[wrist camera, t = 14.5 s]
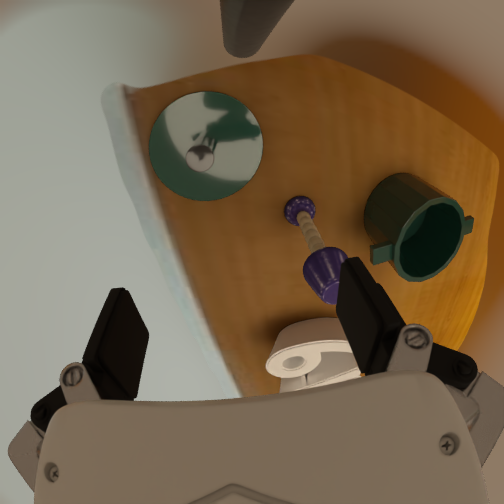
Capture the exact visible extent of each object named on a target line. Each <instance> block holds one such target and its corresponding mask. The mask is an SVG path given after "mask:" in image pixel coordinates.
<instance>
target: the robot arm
mask: <svg viewBox="0 0 504 504" xmlns="http://www.w3.org/2000/svg"><path fill="white" fill-rule="evenodd" d="M336 313H337V316H338V318H339V321H340V323H341V326H342V328H343V330H344V333H345V335H346V338H347V340H348V343H349V345H350V347H351V350H352V352H353V355H354V357H355V360H356V362H357V365H358V368H359V370H360V372H361V373H365V376H363V377H359V378H355V379H351V380H346V381H342V382H337V383H333V384H328V385H323V386H318V387H313V388H307V389H302V390H296V391H290V392H284V393H277V394H270V395H262V396H254V397H244V398H234V399H222V400H205V401H175V402H174V401H172V402H169V401H168V402H167V401H165V402H163V401H161V402H160V401H134V398H136V397H137V394H138V388H139V383H140V378H141V373H142V367H143V363H144V358H145V354H146V349H147V345H148V340H149V332H148V330H147V328H146V326H145V324H144V322H143V320H142V318H141V316H140V314H139V312H138V310H137V308H136V305H135V303H134V301H133V299H132V297H131V295H130V293H129V291H128V290H125V288H113V289H111V290H110V293H109V295H108V297H107V299H106V301H105V303H104V306H103V308H102V310H101V313H100V315H99V317H98V320H97V322H96V324H95V327H94V329H93V332H92V334H91V337H90V339H89V342H88V345H87V347H86V349H85V352H84V355H83V358H82V359H83V361H82V364H81V363H79V362H75V363H71V364H69V365H67V366H66V367H65V368H64V369H63V370H62V372H61V374H60V379H59V380H60V386H59V387H57V388H56V389H54V390H53V391H52V392H50V393H49V394H47V395H46V396H45V397H43V398H42V399H41V400H39V401H38V402H37V403H36V404H35V405H34V406H33V408H32V410H31V421H27V422H26V423H25V424H24V426H23V427H22V428H21V430H20V431H19V432H18V433H17V435H16V436H15V437H14V439H13V440H12V441H11V443H10V445H9V448H8V455H9V457H10V459H11V461H12V463H13V464H14V466H15V467H16V469H17V470H18V472H19V473H20V474H21V476H22V477H23V478H24V480H25V481H26V483H27V484H28V485H29V487H30V488H31V489H32V490H33V492H34V493H35V494H34V504H489V498H488V493H487V489H486V484H485V480H484V476H483V472H482V466H483V464H484V463H485V461H486V460H487V458H488V456H489V455H490V453H491V451H492V449H493V447H494V446H495V444H496V442H497V440H498V438H499V436H500V434H501V432H502V430H503V428H504V387H503V386H502V385H500V384H499V383H498V382H496V381H495V380H494V379H492V378H491V377H490V376H488V375H487V374H486V373H484V372H483V371H482V372H481V373H479V372H478V369H477V365H476V363H475V361H474V360H473V359H472V358H471V357H470V356H468V355H466V354H463V353H460V352H458V351H455V350H452V349H450V348H447V347H444V346H442V345H439V344H436V343H434V342H433V337H432V334H431V333H430V331H429V330H428V329H427V328H426V327H424V326H422V325H420V324H408V325H406V324H405V322H404V320H403V319H402V317H401V316H400V314H399V312H398V311H397V309H396V307H395V306H394V304H393V303H392V301H391V300H390V298H389V297H388V295H387V293H386V292H385V290H384V289H383V287H382V286H381V285H380V284H379V283H376V282H375V280H374V279H373V277H372V276H371V274H370V273H369V271H368V270H367V268H366V267H365V265H364V264H363V262H362V261H361V260H360V258H359V257H352V258H346V259H345V261H344V262H342V263H341V268H340V278H339V287H338V296H337V304H336Z"/></svg>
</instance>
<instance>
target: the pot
mask: <svg viewBox="0 0 504 504" xmlns="http://www.w3.org/2000/svg"><path fill="white" fill-rule="evenodd" d="M473 222H474V218H473V217H472V216H466V217H464V212H463V209H462V208H461V207H460V205H459V204H458V203H457V201H456V200H454V199H453V198H451V197H450V196H448V195H447V194H445V193H444V192H442V191H441V190H439V189H438V188H436V187H434V186H433V185H431V184H430V183H428V182H426V181H425V180H423V179H421V178H419V177H417V176H415V175H412V174H409V173H398V174H394V175H392V176H389V177H388V178H386V179H384V180H383V181H382V182H381V183H380V184H379V185H378V186H377V187H376V188H375V189H374V190H373V192H372V193H371V195H370V197H369V199H368V201H367V204H366V207H365V212H364V225H365V229H366V232H367V234H368V236H369V237H370V239H371V241H372V242H373V243H374V245H371V246H370V262H371V263H372V264H373V265H376V264H380V263H383V262H386V261H388V262H389V263H390V264H391V266H392V267H393V268H394V270H395V271H396V272H397V273H398V275H399V276H401V277H402V278H404V279H405V280H407V281H409V282H422V281H424V280H427V279H430V278H432V277H434V276H435V275H437V274H438V273H439V272H441V271H442V270H443V269H445V268H446V267H447V266H448V264H449V263H450V262H451V260H452V259H453V258H454V257H455V255H456V254H457V252H458V250H459V247H460V245H461V243H462V241H463V237H464V235H466V234H469V233H471V232H472V228H473Z"/></svg>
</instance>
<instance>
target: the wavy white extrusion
mask: <svg viewBox="0 0 504 504" xmlns="http://www.w3.org/2000/svg"><path fill="white" fill-rule="evenodd" d="M266 369H267V371H268V372H269V373H270V374H272V375H274V376H277V377H281V385H280V393H284V392H290V391H296V390H302V389H307V388H313V387H318V386H323V385H328V384H333V383H337V382H342V381H346V380H351V379H355V378H359V377H361V376H360V370H359V368H358V365H357V362H356V360H355V357H354V355H353V352H352V350H351V347H350V345H349V343H348V340H347V338H346V335H345V333H344V330H343V328H342V326H341V323H340V321H339V318H315V319H309V320H305V321H301V322H297V323H294V324H291V325H289V326H287V327H286V328H284V329H283V330H282V331H281V332H280V333H279V335H278V337H277V339H276V342H275V344H274V347H273V349H272V351H271V353H270V356H269V358H268V360H267V363H266Z"/></svg>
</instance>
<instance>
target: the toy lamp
mask: <svg viewBox="0 0 504 504" xmlns="http://www.w3.org/2000/svg"><path fill="white" fill-rule="evenodd" d="M284 213H285V217H286V219H287V220H288V221H289V222H290V223H291V224H293V225H296V226H300V228H301V230H302V233H303V235H304V236H305V240H306V242H307V244H308V247H309V249H310V251H311V255H310V256H309V257H308V258H307V259H306V261H305V263H304V266H303V275H304V278H305V280H306V281H307V283H308V284H309V285H310V286H311V288H312V289H313V290H314V291H315V293H316V294H317V295H318V296H319V297H320V299H321V300H322V301H324V302H325V303H327V304H337V296H338V287H339V278H340V268H341V263H342V262H344V261H345V259H346V258H348V257H347V255H346V254H345V253H344V252H343V251H342V250H341V249H338V248H336V247H326V246H325V244H324V241H323V240H322V239H321V235H320V233H319V232H318V231H317V228H316V226H315V225H314V222H313V220H312V219H313V218H314V215H315V205H314V203H313V202H312V201H311V200H310V199H309V198H307V197H305V196H299V197H294V198H293V199H291V200H290V201H289V202H288V203H287V204H286V206H285V210H284Z"/></svg>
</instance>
